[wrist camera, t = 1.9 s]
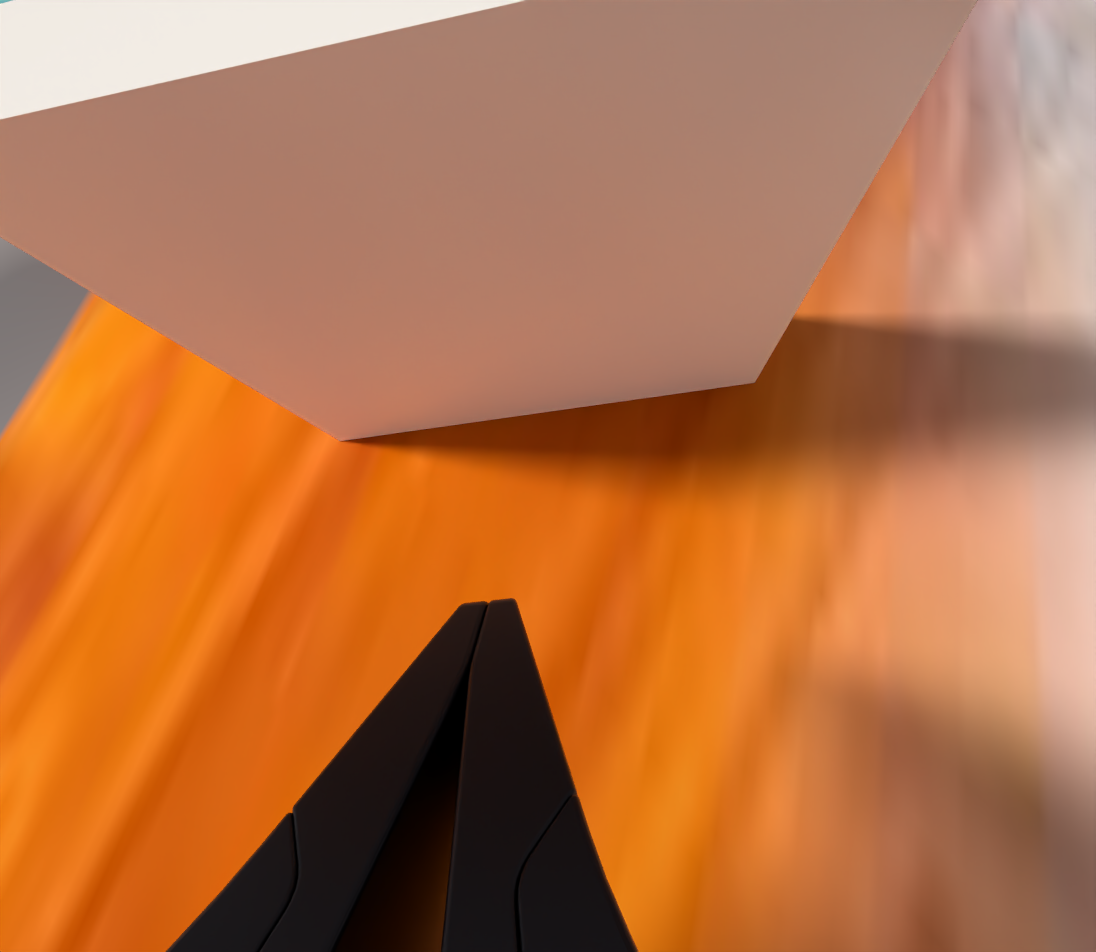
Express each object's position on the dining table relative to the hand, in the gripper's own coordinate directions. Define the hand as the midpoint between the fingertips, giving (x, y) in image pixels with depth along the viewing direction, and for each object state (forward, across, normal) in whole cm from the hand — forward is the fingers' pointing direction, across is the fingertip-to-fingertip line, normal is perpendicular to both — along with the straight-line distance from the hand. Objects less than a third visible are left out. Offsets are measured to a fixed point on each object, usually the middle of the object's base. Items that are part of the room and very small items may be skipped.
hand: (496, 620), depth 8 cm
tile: (+11, 0, 0) cm, 11 cm away
